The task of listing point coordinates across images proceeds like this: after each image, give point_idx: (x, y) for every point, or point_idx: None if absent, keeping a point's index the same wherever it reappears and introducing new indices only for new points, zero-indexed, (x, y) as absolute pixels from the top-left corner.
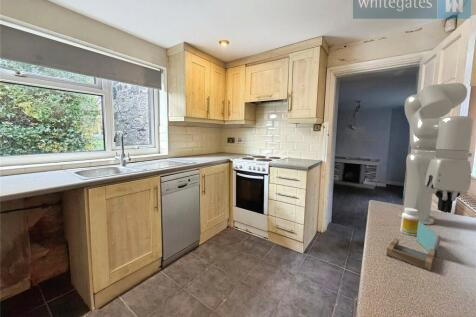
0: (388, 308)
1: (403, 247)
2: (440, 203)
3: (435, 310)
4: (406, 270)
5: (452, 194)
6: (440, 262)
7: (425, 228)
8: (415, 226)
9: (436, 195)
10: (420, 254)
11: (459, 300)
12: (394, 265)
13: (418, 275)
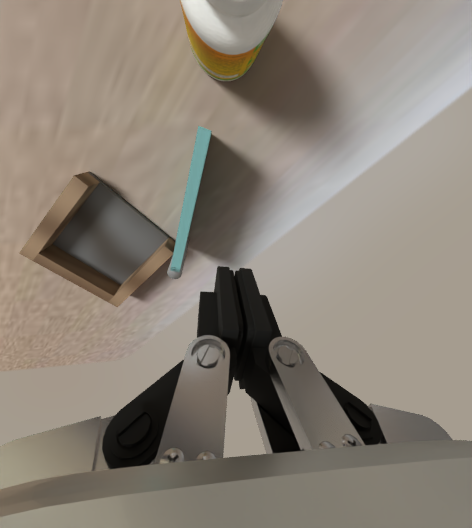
0: (4, 366)
1: (110, 201)
2: (197, 333)
3: (75, 362)
4: (71, 294)
5: (267, 453)
6: None
7: (184, 201)
8: (229, 68)
9: (157, 390)
10: (142, 238)
11: (125, 346)
12: (48, 280)
13: (90, 305)
